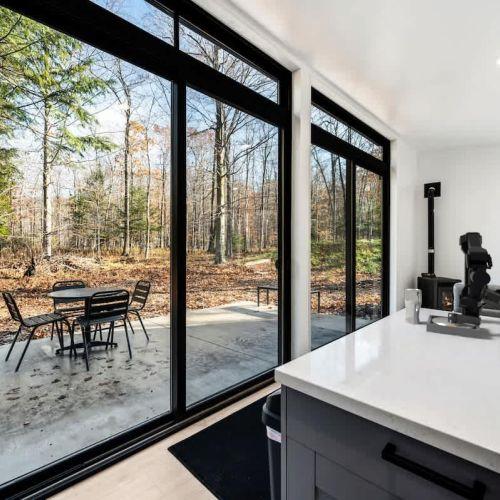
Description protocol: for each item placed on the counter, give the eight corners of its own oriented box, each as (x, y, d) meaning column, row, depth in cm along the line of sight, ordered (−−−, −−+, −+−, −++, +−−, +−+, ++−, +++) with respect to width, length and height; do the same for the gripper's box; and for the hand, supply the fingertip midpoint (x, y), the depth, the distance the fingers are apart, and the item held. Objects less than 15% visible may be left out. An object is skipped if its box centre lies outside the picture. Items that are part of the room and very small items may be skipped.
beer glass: (405, 323, 142) (406, 290, 142) (402, 320, 149) (403, 288, 149) (422, 324, 140) (423, 291, 140) (419, 321, 147) (419, 288, 147)
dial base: (429, 321, 146) (429, 314, 145) (477, 327, 136) (478, 319, 136) (426, 331, 131) (426, 323, 130) (480, 338, 121) (480, 329, 121)
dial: (426, 325, 133) (427, 313, 133) (438, 319, 144) (438, 308, 144) (475, 333, 121) (475, 320, 121) (484, 326, 131) (484, 314, 131)
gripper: (493, 287, 116) (492, 329, 117) (509, 281, 127) (508, 320, 128) (459, 283, 125) (458, 323, 125) (476, 278, 136) (476, 314, 137)
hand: (476, 320), depth 129 cm, fingers closed
